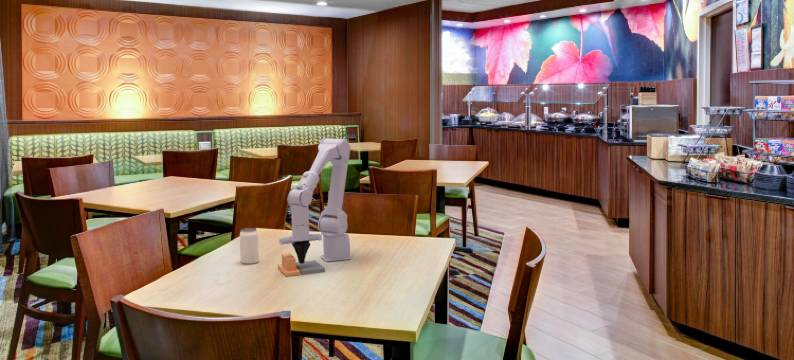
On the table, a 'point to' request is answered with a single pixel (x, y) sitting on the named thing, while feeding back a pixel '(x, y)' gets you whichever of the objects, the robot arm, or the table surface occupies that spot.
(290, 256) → the stub
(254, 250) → the can
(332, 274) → the table surface
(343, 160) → the robot arm
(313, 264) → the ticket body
